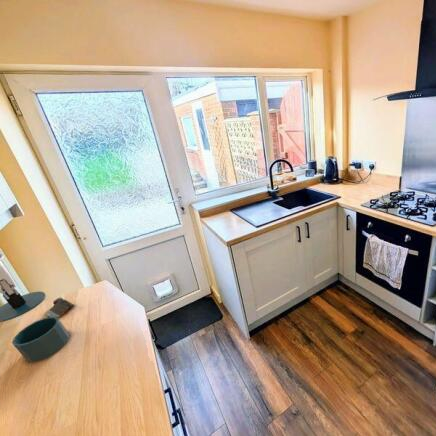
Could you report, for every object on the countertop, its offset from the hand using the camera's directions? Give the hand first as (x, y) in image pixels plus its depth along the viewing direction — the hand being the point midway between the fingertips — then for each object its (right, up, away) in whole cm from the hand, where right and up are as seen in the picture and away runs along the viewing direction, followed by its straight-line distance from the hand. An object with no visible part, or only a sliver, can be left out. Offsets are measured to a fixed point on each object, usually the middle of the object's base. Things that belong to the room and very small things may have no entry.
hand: (17, 303), depth 83 cm
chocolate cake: (-11, -13, +26) cm, 30 cm away
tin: (+2, -19, +9) cm, 21 cm away
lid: (0, -1, +1) cm, 1 cm away
